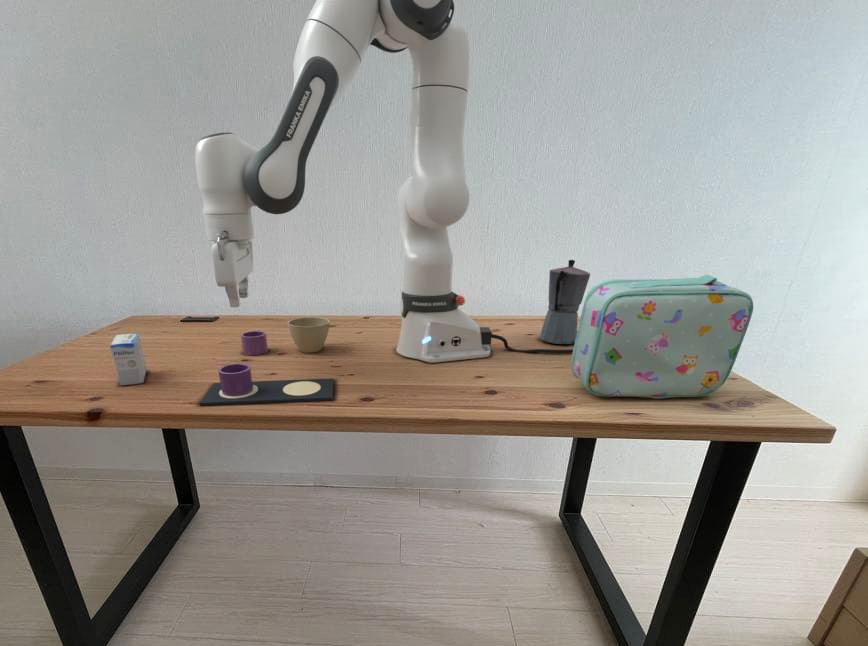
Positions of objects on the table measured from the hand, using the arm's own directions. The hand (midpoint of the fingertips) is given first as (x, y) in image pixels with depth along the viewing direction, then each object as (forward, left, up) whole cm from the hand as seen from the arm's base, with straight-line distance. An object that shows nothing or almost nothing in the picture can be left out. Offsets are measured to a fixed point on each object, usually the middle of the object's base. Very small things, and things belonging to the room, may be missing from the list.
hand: (240, 301), depth 94 cm
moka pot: (-76, -13, -15) cm, 78 cm away
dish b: (0, +14, -14) cm, 20 cm away
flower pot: (-13, -13, -15) cm, 24 cm away
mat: (-7, +14, -15) cm, 21 cm away
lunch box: (-77, +20, -15) cm, 81 cm away
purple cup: (+1, -13, -15) cm, 20 cm away
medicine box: (+23, +3, -15) cm, 28 cm away
